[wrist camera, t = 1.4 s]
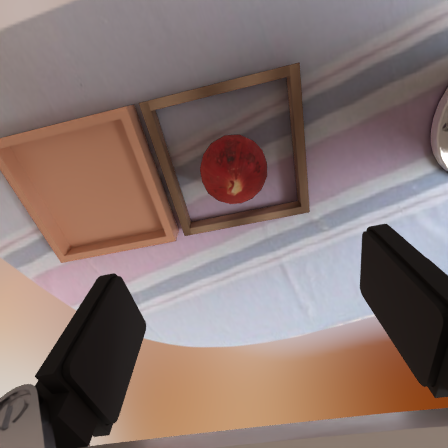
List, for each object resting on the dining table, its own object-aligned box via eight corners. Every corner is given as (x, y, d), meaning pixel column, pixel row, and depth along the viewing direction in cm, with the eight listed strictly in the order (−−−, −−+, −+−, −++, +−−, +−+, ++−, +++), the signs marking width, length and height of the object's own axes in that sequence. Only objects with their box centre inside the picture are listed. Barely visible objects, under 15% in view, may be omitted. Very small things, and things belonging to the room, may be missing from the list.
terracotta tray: (134, 104, 23) (125, 106, 21) (179, 230, 30) (175, 241, 28) (1, 137, 25) (-18, 142, 23) (71, 251, 31) (61, 262, 29)
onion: (200, 130, 24) (190, 150, 17) (261, 125, 24) (276, 143, 17) (206, 188, 27) (200, 225, 20) (261, 184, 27) (274, 220, 20)
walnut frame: (295, 63, 22) (299, 62, 20) (305, 206, 28) (309, 212, 27) (143, 102, 23) (138, 103, 22) (186, 229, 30) (184, 236, 28)
